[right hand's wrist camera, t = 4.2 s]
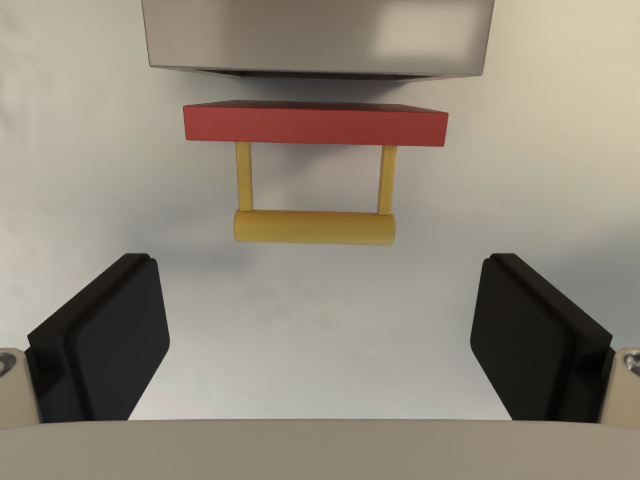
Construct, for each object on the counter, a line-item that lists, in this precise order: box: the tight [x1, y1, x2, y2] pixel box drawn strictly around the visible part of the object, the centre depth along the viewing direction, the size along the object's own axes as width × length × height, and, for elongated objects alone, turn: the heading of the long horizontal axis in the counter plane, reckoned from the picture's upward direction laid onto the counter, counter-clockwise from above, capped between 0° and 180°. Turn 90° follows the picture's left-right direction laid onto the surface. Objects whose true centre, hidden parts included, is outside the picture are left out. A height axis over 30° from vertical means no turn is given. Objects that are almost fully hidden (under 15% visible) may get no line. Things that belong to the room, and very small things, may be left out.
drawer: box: [183, 71, 448, 245], centre depth 16 cm, size 21×10×9 cm, turn 179°
